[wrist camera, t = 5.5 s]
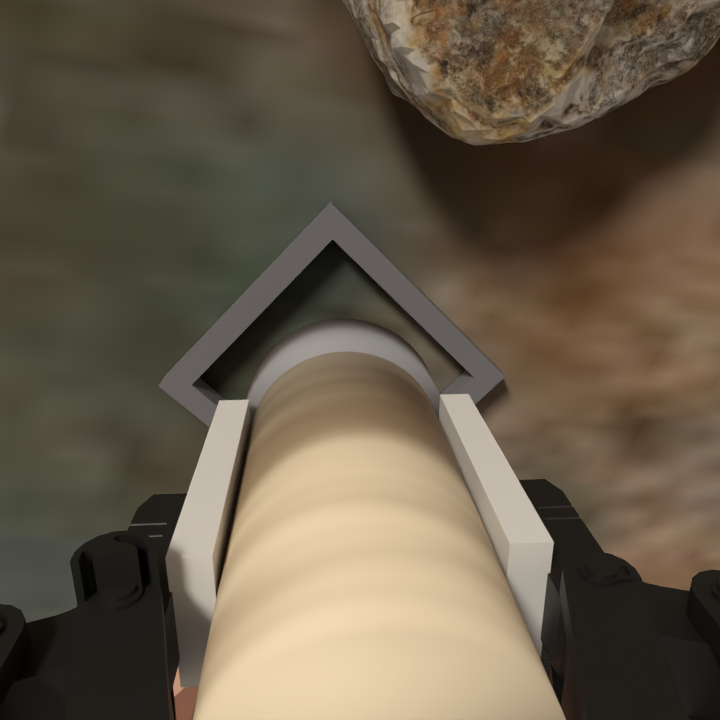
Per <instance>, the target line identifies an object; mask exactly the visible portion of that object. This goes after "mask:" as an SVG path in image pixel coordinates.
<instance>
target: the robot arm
mask: <svg viewBox="0 0 720 720" xmlns="http://www.w3.org/2000/svg"><path fill="white" fill-rule="evenodd" d="M439 422H440V425H441V427H442V429H443V432H444V434H445V436H446V439H447V441H448V443H449V446H450V448H451V450H452V453H453V455H454V458H455V460H456V462H457V465H458V467H459V469H460V472H461V474H462V476H463V479H464V481H465V483H466V486H467V488H468V490H469V493H470V495H471V497H472V500H473V502H474V504H475V507H476V509H477V511H478V514H479V516H480V519H481V521H482V523H483V526H484V528H485V530H486V533H487V535H488V537H489V540H490V542H491V544H492V547H493V549H494V551H495V554H496V556H497V558H498V561H499V563H500V565H501V568H502V570H503V572H504V575H505V577H506V580H507V582H508V584H509V587H510V589H511V591H512V594H513V596H514V598H515V601H516V603H517V605H518V608H519V610H520V612H521V615H522V617H523V619H524V622H525V624H526V626H527V629H528V631H529V633H530V636H531V638H532V641H533V643H534V645H535V648H536V650H537V652H538V655H539V657H540V659H541V650H542V644H543V646H544V648H545V651H546V653H547V655H548V657H549V660H550V662H551V667H550V675H549V680H550V683H551V685H552V687H553V690H554V692H555V694H556V697H557V699H558V702H559V704H560V706H561V709H562V711H563V713H564V716H565V718H566V720H720V570H708V571H703V572H699V573H698V574H697V575H695V576H694V577H693V578H692V582H691V587H690V591H685V590H679V589H673V588H668V587H662V586H657V585H652V584H648V583H645V582H642V579H641V577H640V575H639V574H638V572H637V571H636V569H635V568H634V567H633V566H631V565H630V564H629V563H627V562H626V561H625V560H623V559H621V558H618V557H616V556H614V555H612V554H608V553H604V552H603V550H602V549H601V547H600V546H599V544H598V543H597V541H596V540H595V538H594V537H593V536H592V534H591V533H590V531H589V530H588V528H587V527H586V525H585V524H584V522H583V521H582V519H579V515H578V513H577V512H576V511H575V509H574V508H573V507H572V506H571V503H570V502H569V500H568V499H567V497H566V496H565V494H564V493H563V491H562V490H560V489H559V488H557V487H556V486H554V485H553V484H551V483H550V482H548V481H547V480H545V479H536V480H518V479H517V477H516V475H515V474H514V472H513V470H512V468H511V467H510V465H509V463H508V462H507V460H506V458H505V456H504V455H503V453H502V451H501V449H500V448H499V446H498V444H497V442H496V441H495V439H494V437H493V436H492V434H491V432H490V430H489V429H488V427H487V425H486V423H485V422H484V420H483V418H482V416H481V415H480V413H479V411H478V409H477V408H476V406H475V404H474V403H473V401H472V399H471V397H470V396H469V394H443V395H440V405H439ZM250 433H251V425H250V409H249V400H220V401H219V403H218V406H217V408H216V411H215V414H214V417H213V420H212V423H211V426H210V429H209V432H208V435H207V438H206V441H205V443H204V446H203V449H202V452H201V455H200V458H199V461H198V464H197V467H196V470H195V473H194V476H193V479H192V481H191V484H190V487H189V490H188V493H187V494H159V495H153V496H151V497H150V498H149V499H148V500H147V501H146V502H144V503H143V504H142V505H141V506H140V507H138V509H137V511H136V513H135V515H134V517H133V520H132V522H131V526H129V528H128V530H127V531H116V532H111V533H107V534H104V535H100V536H98V537H96V538H94V539H92V540H90V541H88V542H86V543H84V544H83V545H82V546H81V547H80V548H79V549H77V550H76V551H75V552H74V554H73V557H72V559H71V561H70V564H71V570H72V575H73V581H74V587H75V592H76V598H77V607H76V608H74V609H72V610H70V611H68V612H65V613H62V614H59V615H56V616H52V617H48V618H45V619H41V620H37V621H33V622H29V623H26V621H25V618H24V615H23V613H22V611H21V610H20V609H18V608H16V607H14V606H12V605H4V604H0V720H177V719H176V706H175V698H174V690H173V685H174V681H175V677H176V673H177V669H179V677H180V686H181V688H182V687H198V686H199V681H200V676H201V671H202V666H203V661H204V657H205V652H206V647H207V642H208V637H209V632H210V627H211V623H212V618H213V613H214V608H215V603H216V598H217V593H218V589H219V584H220V579H221V574H222V569H223V564H224V559H225V554H226V550H227V545H228V540H229V535H230V530H231V525H232V520H233V516H234V511H235V506H236V501H237V496H238V491H239V486H240V481H241V477H242V472H243V467H244V462H245V457H246V452H247V447H248V443H249V438H250Z"/></svg>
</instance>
